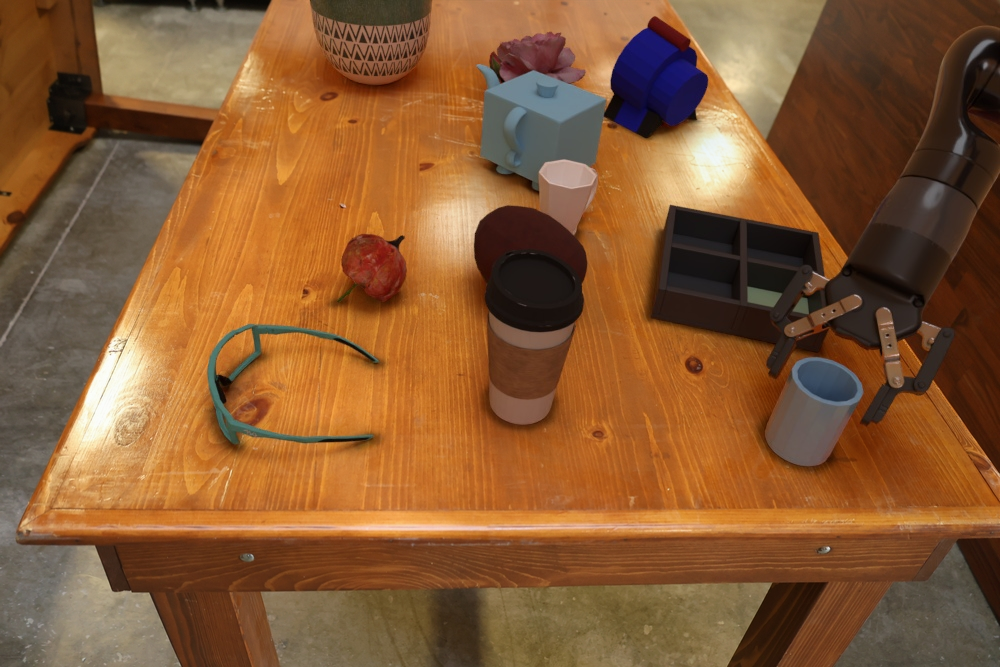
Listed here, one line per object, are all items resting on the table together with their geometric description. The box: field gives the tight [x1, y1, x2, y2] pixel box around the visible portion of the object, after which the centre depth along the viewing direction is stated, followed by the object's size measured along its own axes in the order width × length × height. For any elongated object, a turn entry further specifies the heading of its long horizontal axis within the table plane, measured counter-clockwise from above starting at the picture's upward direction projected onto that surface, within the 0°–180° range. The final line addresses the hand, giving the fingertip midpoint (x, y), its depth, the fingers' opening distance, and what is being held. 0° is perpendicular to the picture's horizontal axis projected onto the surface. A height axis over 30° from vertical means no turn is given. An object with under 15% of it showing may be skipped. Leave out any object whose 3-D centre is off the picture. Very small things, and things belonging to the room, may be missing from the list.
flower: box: [488, 31, 587, 84], centre depth 125 cm, size 15×15×10 cm
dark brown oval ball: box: [473, 204, 588, 284], centre depth 82 cm, size 11×13×10 cm
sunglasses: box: [206, 323, 380, 445], centre depth 70 cm, size 14×15×5 cm
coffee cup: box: [484, 249, 585, 426], centre depth 68 cm, size 8×8×15 cm
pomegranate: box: [336, 233, 408, 303], centre depth 82 cm, size 7×7×10 cm
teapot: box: [476, 63, 607, 192], centre depth 105 cm, size 18×16×13 cm
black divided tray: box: [650, 204, 830, 353], centre depth 89 cm, size 18×18×4 cm
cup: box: [538, 159, 599, 236], centre depth 95 cm, size 7×10×8 cm
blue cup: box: [764, 356, 864, 467], centre depth 70 cm, size 6×6×8 cm
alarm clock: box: [604, 15, 709, 139], centre depth 118 cm, size 12×12×15 cm
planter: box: [309, 0, 433, 86], centre depth 120 cm, size 20×20×21 cm
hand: (816, 400), depth 68 cm, fingers open, 8 cm apart
